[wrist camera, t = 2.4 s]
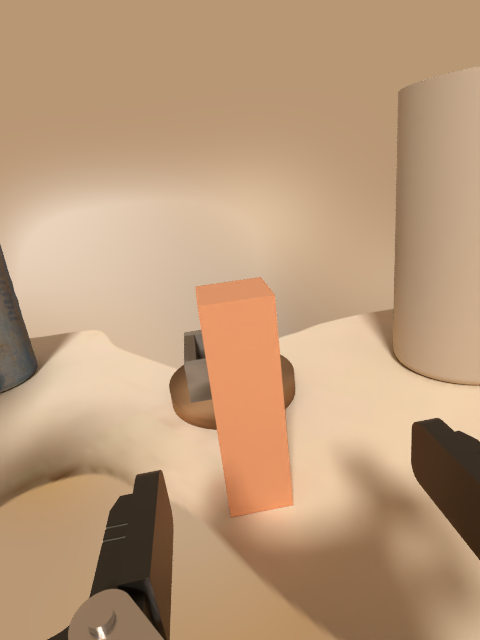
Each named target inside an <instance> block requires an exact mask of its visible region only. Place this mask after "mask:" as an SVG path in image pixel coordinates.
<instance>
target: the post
mask: <svg viewBox="0 0 480 640" xmlns="http://www.w3.org/2000/svg"><path fill="white" fill-rule="evenodd" d="M196 297H197V305H198V312H199V318H200V324H201V331H202V337H203V344H204V350H205V356H206V363H207V369H208V375H209V382H210V388H211V394H212V400H213V407H214V413H215V419H216V426H217V432H218V438H219V445H220V451H221V457H222V463H223V470H224V476H225V482H226V489H227V495H228V501H229V508H230V514H231V517H234V516H239V515H245V514H250V513H255V512H260V511H265V510H270V509H275V508H280V507H285V506H290V505H293V498H292V486H291V475H290V464H289V452H288V441H287V429H286V418H285V406H284V395H283V383H282V372H281V360H280V349H279V337H278V326H277V315H276V303H275V294H274V293H273V292H272V291H271V289H270V288H269V287H268V286H267V284H266V283H265V282H264V281H263V279H262V278H261V277H259V278H252V279H245V280H238V281H232V282H224V283H217V284H211V285H204V286H196Z"/></svg>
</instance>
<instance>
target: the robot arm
mask: <svg viewBox="0 0 480 640" xmlns="http://www.w3.org/2000/svg"><path fill="white" fill-rule="evenodd" d="M411 464H412V469H413V472H414V475H415V477H416V479H417V481H418V482H419V484H420V485H421V486H422V487H423V489H424V490H425V491H426V493H427V494H428V495H429V496H430V498H431V499H432V500H433V501H434V503H435V504H436V505H437V506H438V508H439V509H440V510H441V512H442V513H443V514H444V515H445V517H446V518H447V519H448V520H449V522H450V523H451V524H452V526H453V527H454V528H455V529H456V531H457V532H458V533H459V534H460V536H461V537H462V538H463V539H464V541H465V542H466V543H467V545H468V546H469V547H470V548H471V550H472V551H473V552H474V553H475V555H476V556H477V557H478V558H479V560H480V442H479V441H478V440H477V439H475V438H473V437H471V436H469V435H467V434H465V433H463V432H461V431H456V432H454V431H453V430H452V429H451V428H450V427H449V426H448V425H447V424H446V423H444V422H443V421H442V420H441V419H439V418H434V419H429V420H424V421H419V422H415V423H413V425H412V447H411ZM172 555H173V517H172V511H171V506H170V502H169V497H168V493H167V489H166V485H165V480H164V476H163V473H162V471H161V470H158V471H153V472H148V473H143V474H137V475H136V478H135V484H134V489H133V494H128V495H123V496H120V497H119V498H118V500H117V502H116V503H115V505H114V506H113V507H112V509H111V510H110V513H109V517H108V521H107V525H106V530H105V534H104V538H103V543H102V547H101V551H100V555H99V560H98V564H97V568H96V572H95V577H94V581H93V585H92V589H91V594H90V597H89V599H88V600H87V601H85V602H84V603H83V604H82V606H81V607H80V608H79V609H78V610H77V612H76V613H75V615H74V617H73V618H72V621H71V623H70V625H69V626H68V627H67V628H66V629H64V630H63V631H62V632H60V633H58V634H57V635H55V636H53V637H51V638H50V639H48V640H169V639H170V638H169V637H170V612H171V611H170V610H171V583H172Z"/></svg>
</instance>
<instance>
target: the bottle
mask: <svg viewBox="0 0 480 640" xmlns="http://www.w3.org/2000/svg"><path fill="white" fill-rule="evenodd" d="M36 368H37V362H36V358H35V355H34V352H33V349H32V346H31V342H30V339H29V336H28V333H27V329H26V327H25V323H24V320H23V318H22V314H21V310H20V307H19V303H18V299H17V297H16V295H15V292H14V288H13V284H12V281H11V278H10V276H9V272H8V269H7V266H6V262H5V259H4V255H3V252H2V249H1V245H0V392H3V391H5V390H8V389H10V388H13V387H15V386H17V385H19V384H20V383H22V382H24V381H25V380H26V379H28V378H29V377H30V376H31V375H32V374H33V373H34V372H35V370H36Z"/></svg>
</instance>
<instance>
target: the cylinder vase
mask: <svg viewBox="0 0 480 640" xmlns="http://www.w3.org/2000/svg"><path fill="white" fill-rule="evenodd" d="M397 135H398V136H397V184H396V230H395V278H394V324H393V350H394V353H395V355H396V357H397V358H398V360H399V361H400V362H401V363H402V364H403V365H405V366H406V367H408V368H409V369H411V370H413V371H415V372H417V373H419V374H421V375H424V376H426V377H429V378H433V379H436V380H440V381H445V382H450V383H457V384H467V385H480V66H479V67H475V68H470V69H465V70H461V71H457V72H452V73H448V74H444V75H441V76H437V77H433V78H430V79H427V80H424V81H420V82H418V83H415V84H412V85H409V86H407V87H405V88H403V89H401V90H400V91H399V92H398V134H397Z"/></svg>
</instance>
